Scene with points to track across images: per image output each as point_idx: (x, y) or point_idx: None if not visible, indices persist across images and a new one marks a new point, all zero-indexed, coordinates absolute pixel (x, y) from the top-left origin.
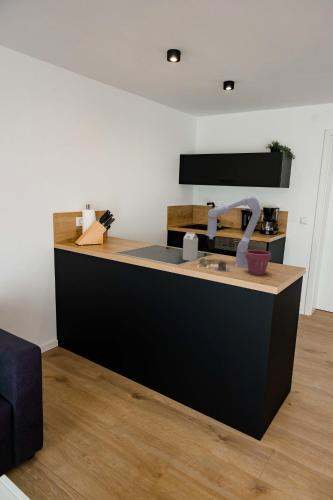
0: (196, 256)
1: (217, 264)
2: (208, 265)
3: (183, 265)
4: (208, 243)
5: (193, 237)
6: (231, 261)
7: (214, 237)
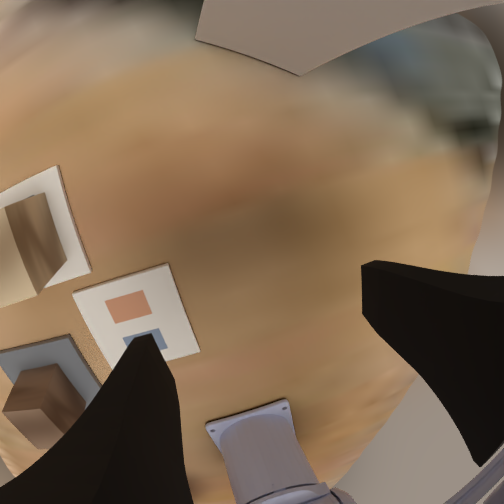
0: (301, 60)
1: (174, 326)
2: (85, 270)
3: (8, 63)
4: (74, 429)
5: None
6: (352, 352)
7: (484, 443)
